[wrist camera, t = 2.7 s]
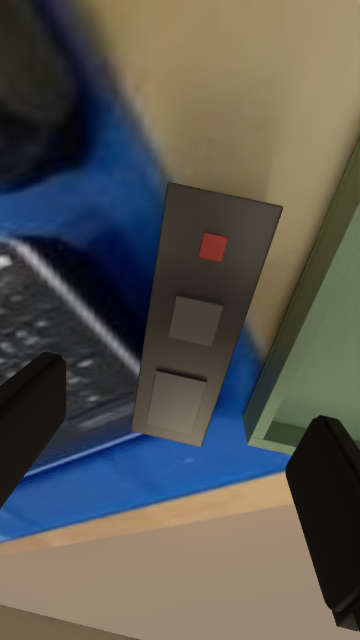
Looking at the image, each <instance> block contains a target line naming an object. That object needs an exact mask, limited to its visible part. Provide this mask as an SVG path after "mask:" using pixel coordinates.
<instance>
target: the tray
mask: <svg viewBox="0 0 360 640" xmlns="http://www.w3.org/2000/svg"><path fill="white" fill-rule="evenodd" d="M319 415H324V416H328V417H333V418H337V419H339V420H340V421H341V423H342V424H343V426H344V427H345V429H346V430H347V432H348V433H349V435H350V436H351V438H352V439H353V441H354V442H355V444H356V445H357V447H358V448H359V450H360V138H359V140H358V143H357V145H356V147H355V150H354V152H353V155H352V157H351V159H350V162H349V164H348V167H347V169H346V171H345V174H344V176H343V179H342V181H341V183H340V186H339V188H338V191H337V193H336V195H335V198H334V200H333V202H332V205H331V207H330V210H329V212H328V214H327V217H326V219H325V222H324V224H323V226H322V229H321V231H320V234H319V236H318V238H317V241H316V243H315V246H314V248H313V250H312V253H311V255H310V257H309V260H308V262H307V265H306V267H305V269H304V272H303V274H302V277H301V279H300V281H299V284H298V286H297V289H296V291H295V293H294V296H293V298H292V300H291V303H290V305H289V308H288V310H287V312H286V315H285V317H284V320H283V322H282V324H281V327H280V329H279V332H278V334H277V336H276V339H275V341H274V344H273V346H272V348H271V351H270V353H269V355H268V358H267V360H266V363H265V365H264V367H263V370H262V372H261V375H260V377H259V379H258V382H257V384H256V387H255V389H254V391H253V394H252V396H251V398H250V401H249V403H248V406H247V408H246V410H245V413H244V415H243V421H244V427H245V433H246V439H247V444H248V445H250V446H255V447H259V448H263V449H268V450H272V451H277V452H281V453H285V454H290V455H293V453H294V451H295V449H296V447H297V446H298V444H299V442H300V440H301V439H302V437H303V435H304V433H305V431H306V430H307V428H308V426H309V424H310V422H311V421H312V419H313V418H317V417H318V416H319Z"/></svg>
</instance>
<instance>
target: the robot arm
mask: <svg viewBox="0 0 360 640" xmlns="http://www.w3.org/2000/svg"><path fill="white" fill-rule="evenodd" d="M65 414H66V361H65V360H63V359H62V356H61V355H59V354H54V353H50V352H43V353H41V354H40V355H39V356H38V357H36V358H35V359H34V360H32V361H31V362H30V363H29V364H27V365H26V366H25V367H24V368H22V369H21V370H20V371H19V372H17V373H16V374H15V375H14V376H12V377H11V378H10V379H9V380H7V381H6V382H5V383H3V384H2V385H1V386H0V509H1V507H2V506H3V504H4V503H5V502H6V500H7V499H8V497H9V496H10V495H11V493H12V492H13V491H14V489H15V488H16V486H17V485H18V484H19V482H20V481H21V479H22V478H23V477H24V475H25V474H26V473H27V471H28V470H29V468H30V467H31V466H32V464H33V463H34V461H35V460H36V459H37V457H38V456H39V455H40V453H41V452H42V450H43V449H44V448H45V446H46V445H47V443H48V442H49V441H50V439H51V438H52V436H53V435H54V434H55V432H56V431H57V430H58V428H59V427H60V425H61V424H62V422H63V420H64V418H65ZM286 478H287V481H288V484H289V488H290V491H291V494H292V497H293V501H294V504H295V507H296V510H297V513H298V516H299V520H300V523H301V526H302V530H303V533H304V536H305V539H306V542H307V546H308V549H309V552H310V556H311V558H312V562H313V565H314V568H315V572H316V575H317V578H318V581H319V585H320V588H321V591H322V594H323V597H324V600H325V603H326V604H327V606H328V607H329V608H330V609H331V610H332V613H333V616H334V619H335V622H336V625H337V626H338V627H342V628H346V629H350V630H354V631H358V630H359V632H360V450H359V448H358V447H357V445H356V444H355V442H354V441H353V439H352V438H351V436H350V435H349V433H348V432H347V430H346V429H345V427H344V426H343V424H342V423H341V421H340V420H339V419H337V418H333V417H328V416H324V415H319V416H318V417H317V418H313V419H312V421H311V422H310V424H309V426H308V428H307V430H306V431H305V433H304V435H303V437H302V439H301V440H300V442H299V444H298V446H297V447H296V449H295V451H294V453H293V455H292V456H291V458H290V460H289V462H288V464H287V466H286ZM0 640H139V639H135V638H131V637H127V636H123V635H119V634H116V633H112V632H108V631H104V630H100V629H96V628H92V627H88V626H84V625H79V624H76V623H72V622H68V621H64V620H59V619H56V618H52V617H48V616H43V615H40V614H36V613H32V612H27V611H24V610H19V609H15V608H12V607H7V606H4V605H0Z"/></svg>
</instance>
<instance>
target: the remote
mask: <svg viewBox="0 0 360 640" xmlns="http://www.w3.org/2000/svg"><path fill="white" fill-rule="evenodd" d="M282 210H283V207H282V206H280V205H275V204H270V203H266V202H261V201H256V200H252V199H247V198H242V197H237V196H233V195H228V194H223V193H218V192H214V191H209V190H204V189H200V188H195V187H190V186H185V185H181V184H176V183H171V182H169V183H168V184H167V191H166V198H165V205H164V211H163V218H162V225H161V231H160V238H159V245H158V252H157V258H156V265H155V272H154V278H153V285H152V292H151V299H150V305H149V312H148V319H147V326H146V332H145V339H144V346H143V352H142V359H141V366H140V373H139V379H138V386H137V393H136V400H135V406H134V413H133V420H132V426H131V431H134V432H138V433H142V434H147V435H151V436H155V437H160V438H164V439H168V440H173V441H177V442H181V443H186V444H190V445H194V446H199V447H201V446H202V444H203V441H204V438H205V435H206V432H207V429H208V426H209V423H210V420H211V417H212V414H213V411H214V409H215V406H216V403H217V400H218V397H219V394H220V391H221V388H222V385H223V382H224V379H225V376H226V373H227V371H228V368H229V365H230V362H231V359H232V356H233V353H234V350H235V347H236V344H237V341H238V338H239V335H240V333H241V330H242V327H243V324H244V321H245V318H246V315H247V312H248V309H249V306H250V303H251V300H252V297H253V294H254V292H255V289H256V286H257V283H258V280H259V277H260V274H261V271H262V268H263V265H264V262H265V259H266V256H267V254H268V251H269V248H270V245H271V242H272V239H273V236H274V233H275V230H276V227H277V224H278V221H279V218H280V216H281V213H282Z"/></svg>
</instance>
